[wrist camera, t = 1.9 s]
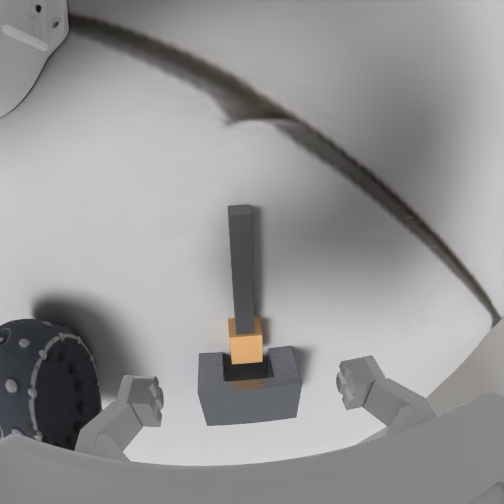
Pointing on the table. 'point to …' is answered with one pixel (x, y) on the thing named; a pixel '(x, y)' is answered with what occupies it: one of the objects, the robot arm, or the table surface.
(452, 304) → the table surface
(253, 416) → the slotted block
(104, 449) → the robot arm
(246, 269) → the plug
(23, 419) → the dotted bowl
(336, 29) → the table surface
